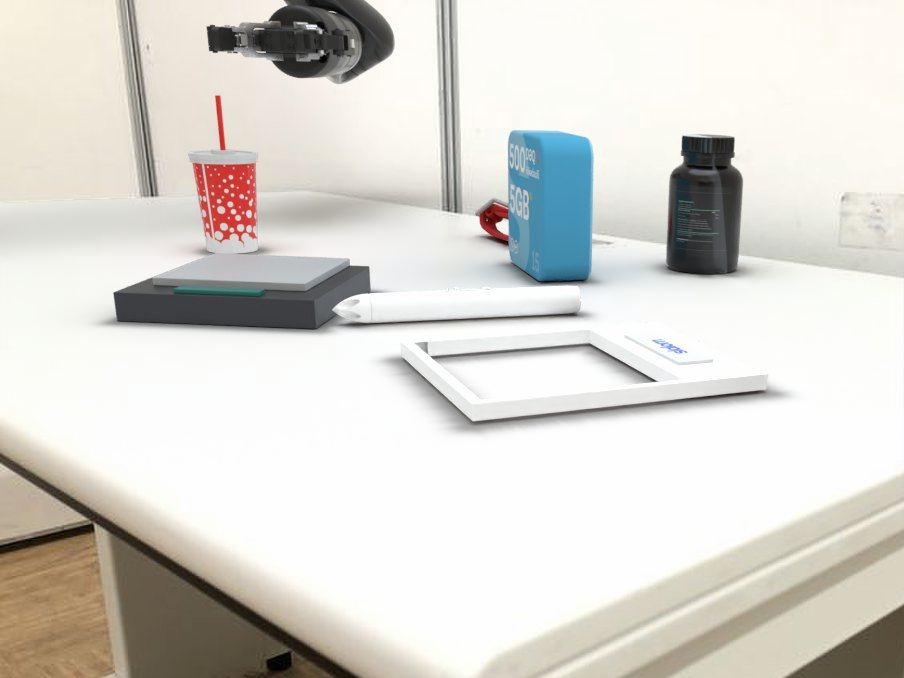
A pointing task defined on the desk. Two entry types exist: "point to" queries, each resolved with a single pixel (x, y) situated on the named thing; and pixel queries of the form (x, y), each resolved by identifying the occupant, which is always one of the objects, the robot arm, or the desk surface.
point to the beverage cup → (227, 195)
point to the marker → (459, 304)
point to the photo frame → (639, 345)
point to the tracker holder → (493, 217)
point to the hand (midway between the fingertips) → (258, 39)
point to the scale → (245, 291)
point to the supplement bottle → (704, 207)
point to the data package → (550, 204)
